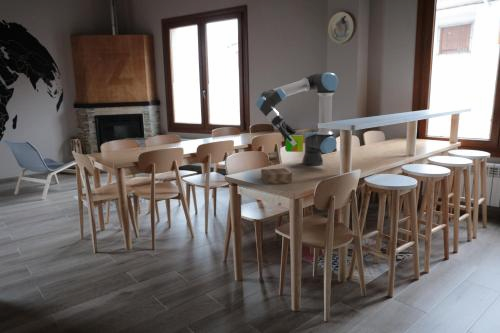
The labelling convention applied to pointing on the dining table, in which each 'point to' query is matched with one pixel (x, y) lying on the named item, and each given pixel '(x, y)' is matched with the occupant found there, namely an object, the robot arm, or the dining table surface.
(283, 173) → the walnut block
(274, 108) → the robot arm
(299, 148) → the puzzle toy
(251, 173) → the dining table surface
